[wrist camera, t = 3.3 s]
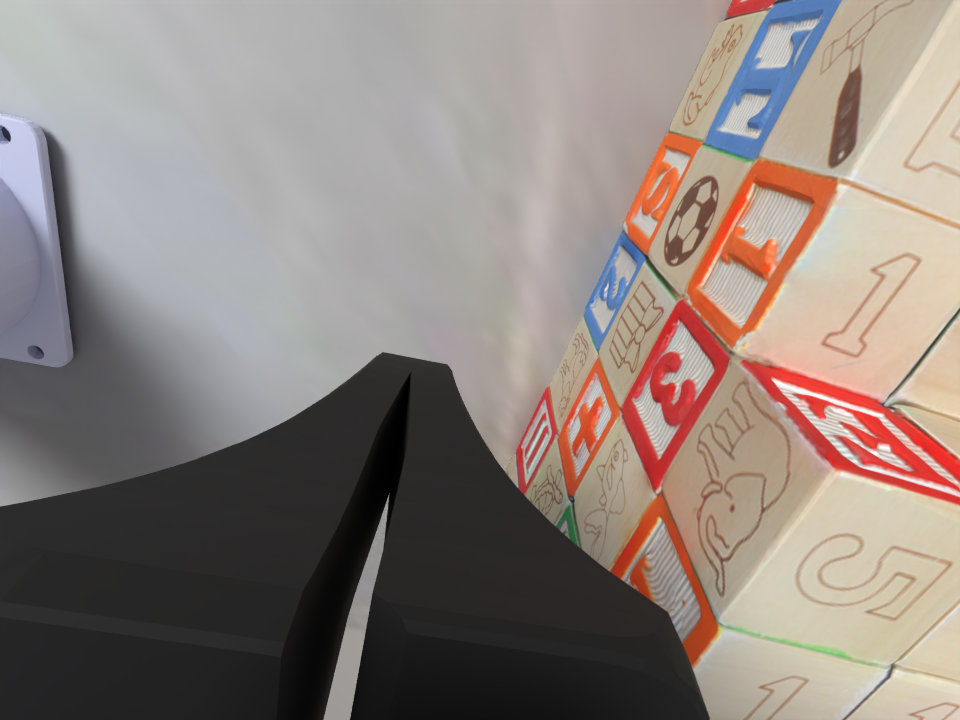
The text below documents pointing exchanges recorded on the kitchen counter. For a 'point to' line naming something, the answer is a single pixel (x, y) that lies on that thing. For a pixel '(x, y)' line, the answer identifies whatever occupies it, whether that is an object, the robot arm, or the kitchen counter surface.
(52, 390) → the kitchen counter surface
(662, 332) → the stack of blocks
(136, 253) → the kitchen counter surface
